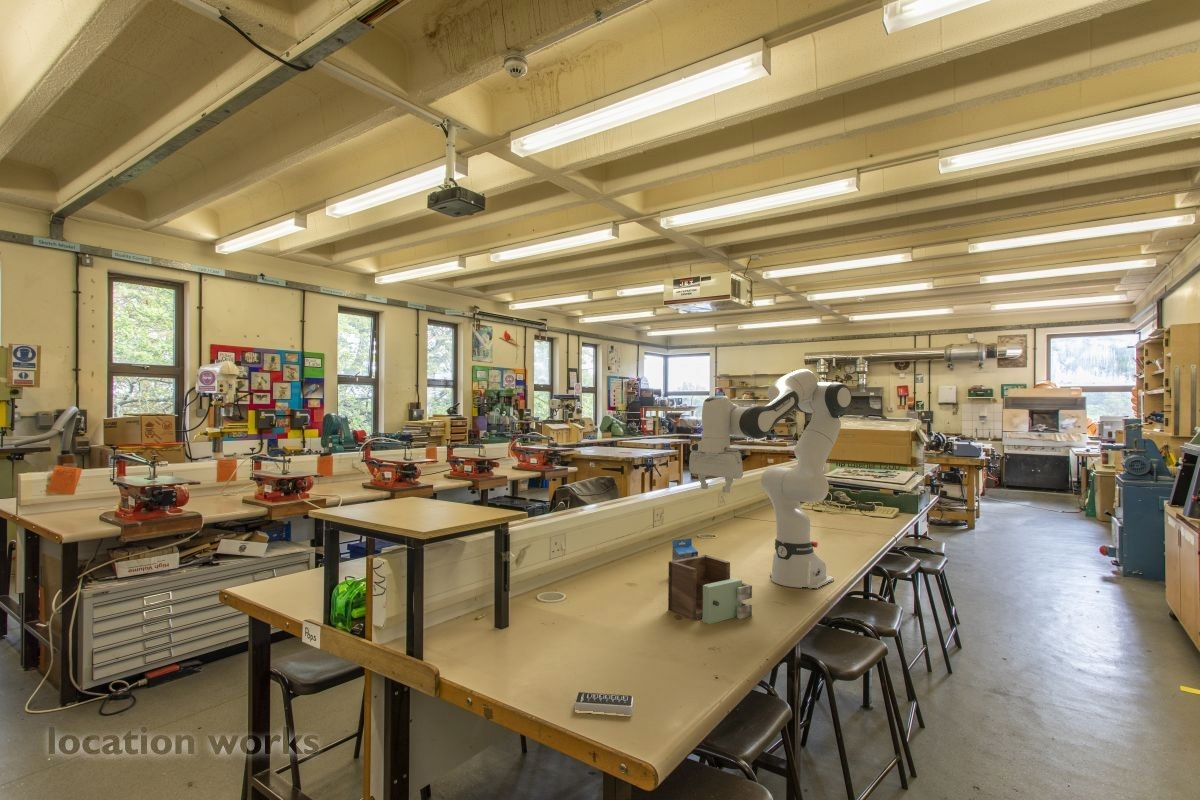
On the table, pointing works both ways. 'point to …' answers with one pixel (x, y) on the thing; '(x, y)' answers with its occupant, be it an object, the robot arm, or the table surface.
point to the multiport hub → (604, 703)
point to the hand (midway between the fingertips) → (715, 490)
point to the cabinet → (700, 585)
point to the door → (720, 600)
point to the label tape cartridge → (683, 549)
